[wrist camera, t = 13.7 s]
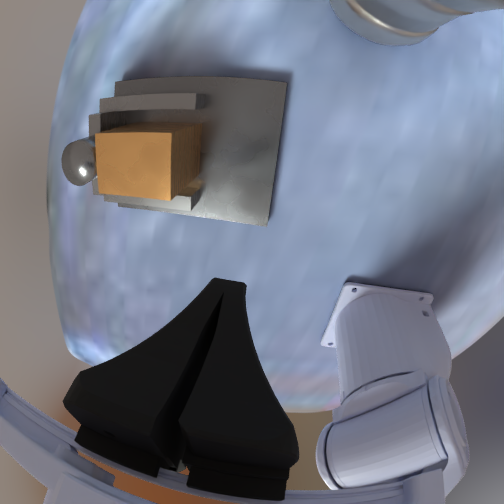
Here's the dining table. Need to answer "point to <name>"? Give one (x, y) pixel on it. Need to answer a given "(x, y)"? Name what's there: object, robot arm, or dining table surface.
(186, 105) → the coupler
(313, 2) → the dining table surface
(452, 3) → the plastic bottle
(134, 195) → the block
